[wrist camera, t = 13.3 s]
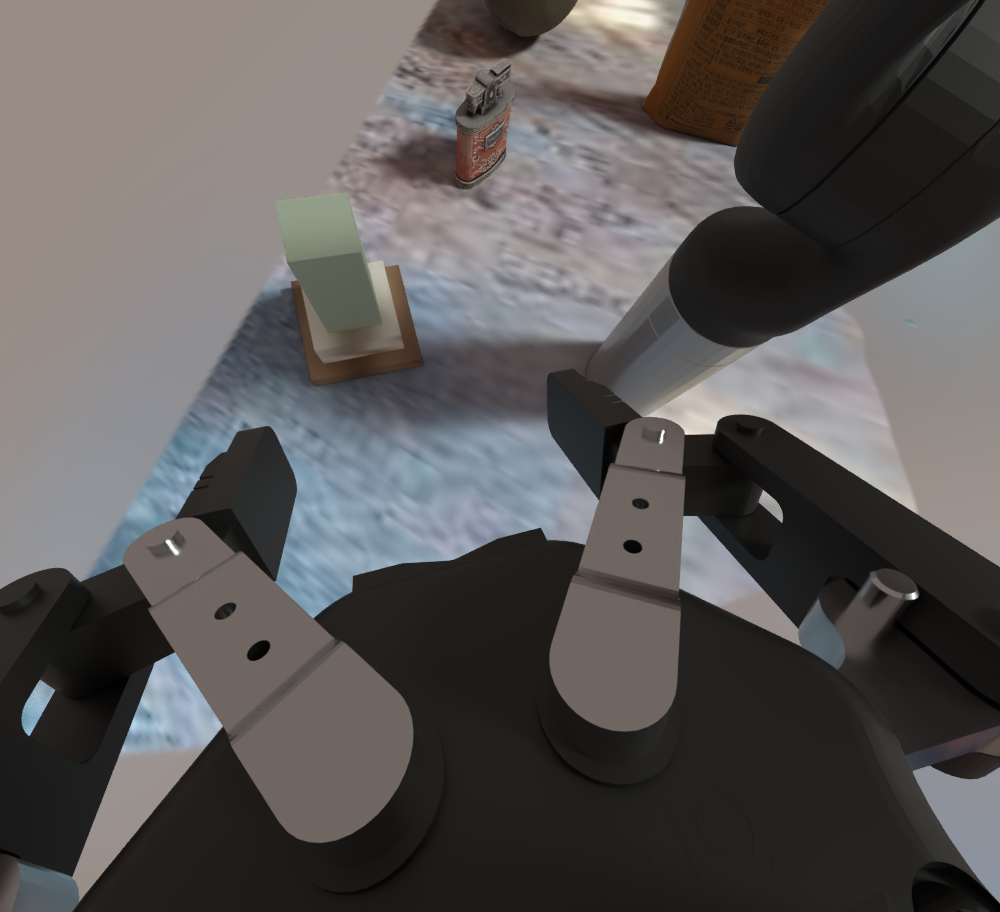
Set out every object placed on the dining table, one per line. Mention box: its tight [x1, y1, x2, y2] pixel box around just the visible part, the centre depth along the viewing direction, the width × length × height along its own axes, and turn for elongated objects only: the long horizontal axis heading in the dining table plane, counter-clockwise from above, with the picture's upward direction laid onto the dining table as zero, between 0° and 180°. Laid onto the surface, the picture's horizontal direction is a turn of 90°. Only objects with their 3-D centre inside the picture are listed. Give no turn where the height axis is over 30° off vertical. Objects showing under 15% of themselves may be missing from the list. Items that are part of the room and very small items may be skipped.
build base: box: [291, 261, 423, 386], centre depth 41 cm, size 11×11×4 cm
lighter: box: [454, 58, 516, 189], centre depth 44 cm, size 8×3×10 cm, turn 140°
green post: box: [275, 193, 382, 333], centre depth 34 cm, size 5×5×10 cm
